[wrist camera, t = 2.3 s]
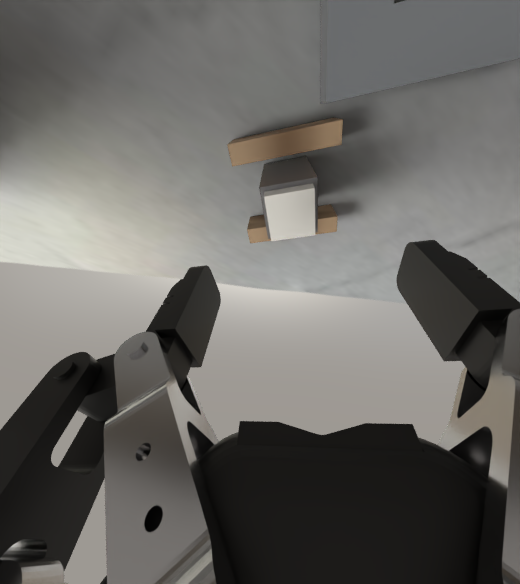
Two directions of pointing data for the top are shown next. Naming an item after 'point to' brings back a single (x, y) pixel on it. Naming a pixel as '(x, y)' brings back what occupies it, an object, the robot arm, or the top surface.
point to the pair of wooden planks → (283, 145)
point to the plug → (289, 199)
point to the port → (411, 41)
